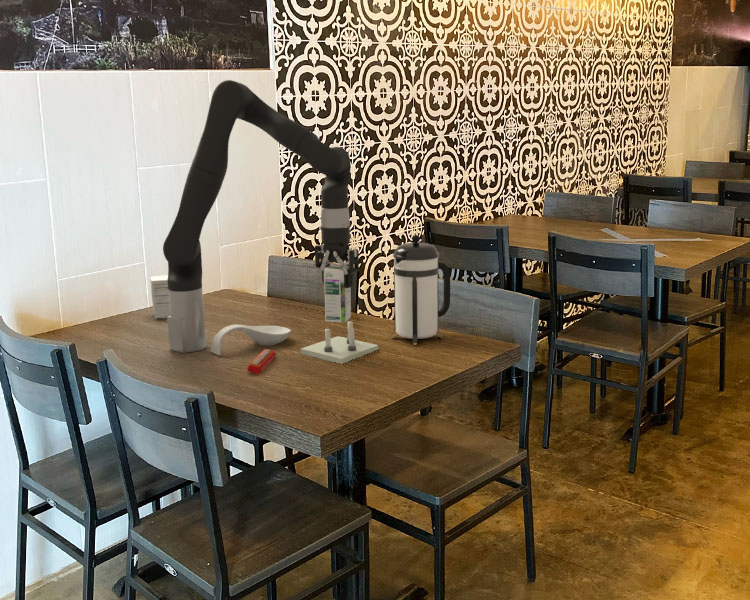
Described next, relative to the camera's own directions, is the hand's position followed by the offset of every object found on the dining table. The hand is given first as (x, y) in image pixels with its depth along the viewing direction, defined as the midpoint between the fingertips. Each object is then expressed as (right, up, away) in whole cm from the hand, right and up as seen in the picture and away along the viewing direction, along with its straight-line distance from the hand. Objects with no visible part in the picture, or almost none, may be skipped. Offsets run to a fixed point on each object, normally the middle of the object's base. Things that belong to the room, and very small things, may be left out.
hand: (337, 285), depth 221 cm
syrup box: (0, -9, +2) cm, 10 cm away
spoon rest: (-24, -17, +12) cm, 32 cm away
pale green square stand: (0, -18, +4) cm, 19 cm away
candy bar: (-19, -21, -6) cm, 29 cm away
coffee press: (+23, -15, +16) cm, 32 cm away
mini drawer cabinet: (-58, -9, +47) cm, 75 cm away
